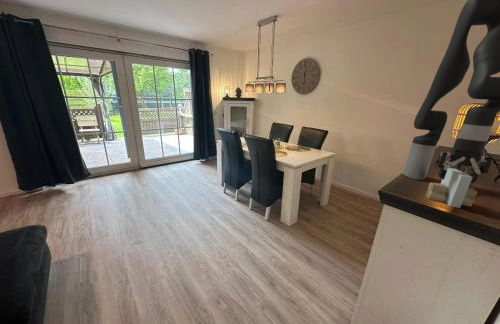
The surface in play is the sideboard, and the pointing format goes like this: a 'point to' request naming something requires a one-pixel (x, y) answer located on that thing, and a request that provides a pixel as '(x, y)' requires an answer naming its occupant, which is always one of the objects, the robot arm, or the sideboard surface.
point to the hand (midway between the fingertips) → (455, 180)
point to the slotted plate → (456, 186)
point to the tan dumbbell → (440, 194)
